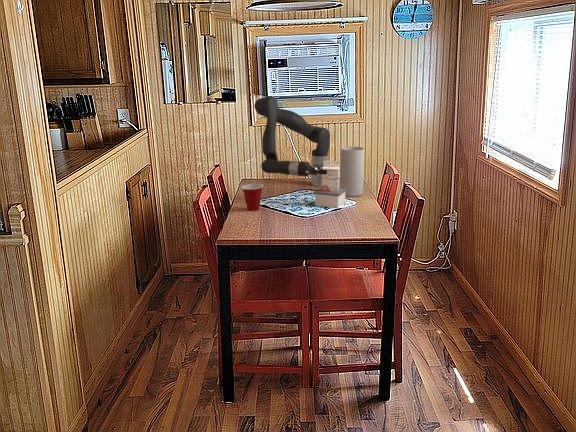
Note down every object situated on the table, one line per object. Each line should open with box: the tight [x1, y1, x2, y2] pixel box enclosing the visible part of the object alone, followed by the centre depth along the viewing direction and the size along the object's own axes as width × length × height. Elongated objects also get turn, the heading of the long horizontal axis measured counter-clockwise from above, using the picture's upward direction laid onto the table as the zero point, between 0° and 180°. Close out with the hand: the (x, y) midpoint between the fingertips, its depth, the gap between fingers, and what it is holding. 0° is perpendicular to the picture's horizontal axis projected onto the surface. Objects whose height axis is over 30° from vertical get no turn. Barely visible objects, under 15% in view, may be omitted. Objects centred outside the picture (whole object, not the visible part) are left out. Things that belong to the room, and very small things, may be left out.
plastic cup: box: [241, 183, 264, 212], centre depth 289 cm, size 11×11×12 cm
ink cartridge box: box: [321, 160, 340, 191], centre depth 297 cm, size 9×5×15 cm, turn 82°
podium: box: [313, 186, 347, 209], centre depth 299 cm, size 13×13×7 cm
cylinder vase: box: [339, 146, 365, 198], centre depth 317 cm, size 12×12×25 cm
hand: (329, 170), depth 296 cm, fingers open, 8 cm apart
